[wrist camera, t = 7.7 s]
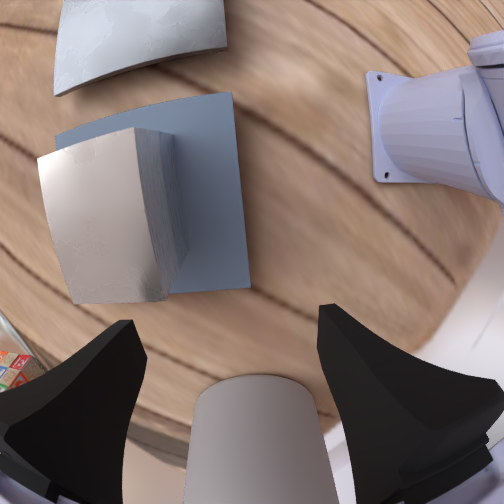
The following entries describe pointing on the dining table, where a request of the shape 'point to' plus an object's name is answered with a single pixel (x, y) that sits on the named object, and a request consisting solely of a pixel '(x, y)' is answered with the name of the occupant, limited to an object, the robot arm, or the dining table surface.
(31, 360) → the stack of blocks
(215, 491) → the cylinder vase
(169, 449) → the dining table surface
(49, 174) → the block
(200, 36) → the stand
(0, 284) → the dining table surface
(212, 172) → the stand
